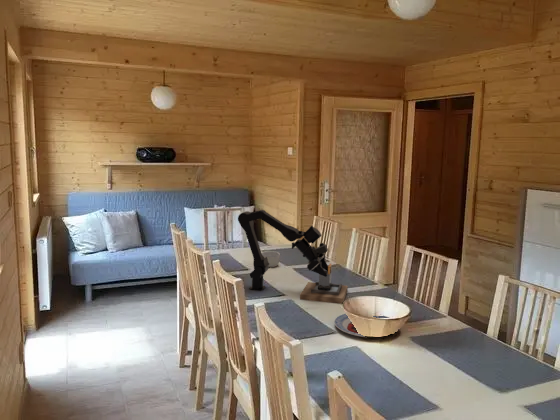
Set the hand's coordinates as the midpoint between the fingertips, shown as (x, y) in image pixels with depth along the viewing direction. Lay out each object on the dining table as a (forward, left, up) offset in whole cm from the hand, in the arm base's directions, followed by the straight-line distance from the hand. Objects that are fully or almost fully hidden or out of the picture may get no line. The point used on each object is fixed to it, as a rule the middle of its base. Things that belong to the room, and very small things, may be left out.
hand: (328, 273), depth 229 cm
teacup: (+41, +43, -11) cm, 61 cm away
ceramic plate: (-35, -23, -11) cm, 43 cm away
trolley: (0, +1, -8) cm, 8 cm away
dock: (0, +1, -11) cm, 11 cm away
